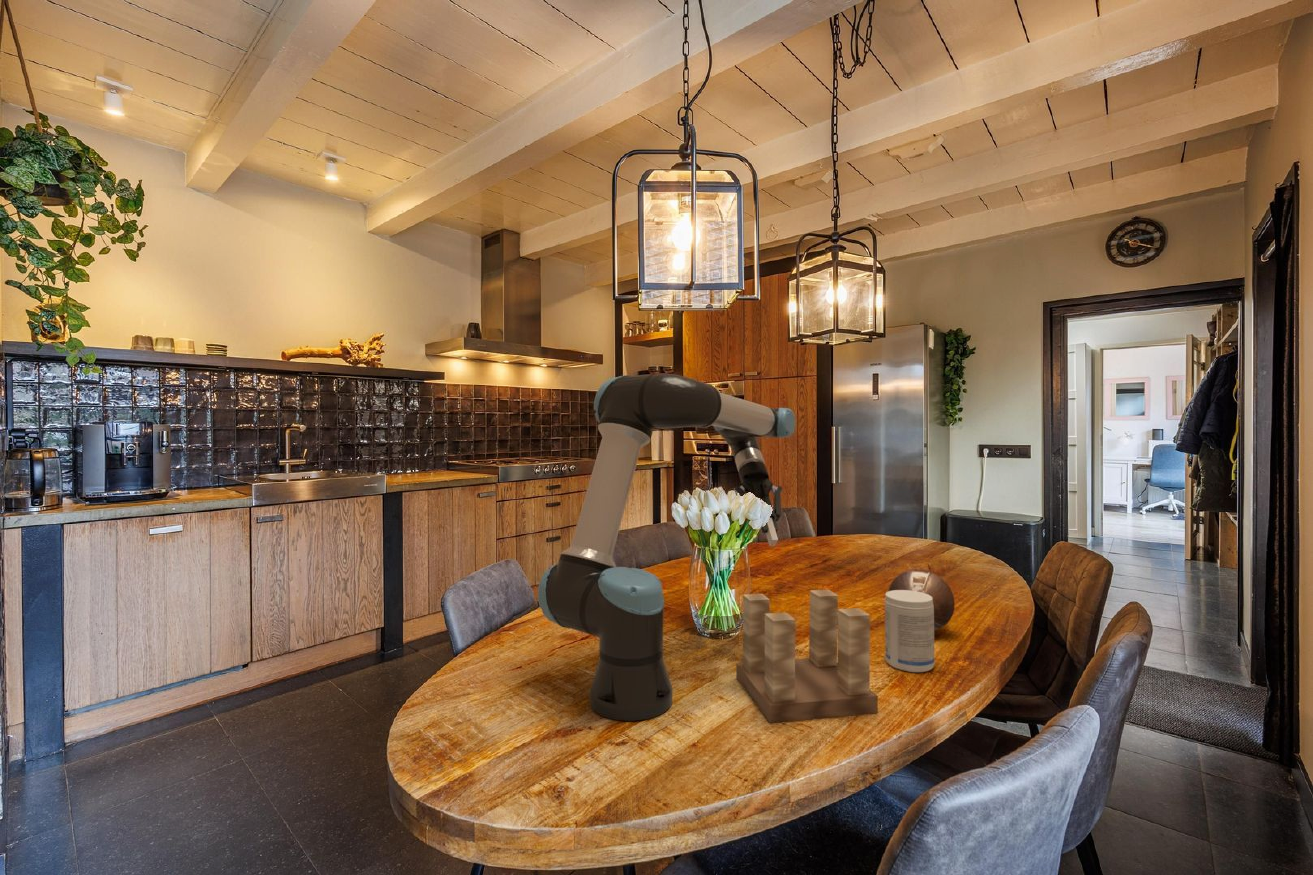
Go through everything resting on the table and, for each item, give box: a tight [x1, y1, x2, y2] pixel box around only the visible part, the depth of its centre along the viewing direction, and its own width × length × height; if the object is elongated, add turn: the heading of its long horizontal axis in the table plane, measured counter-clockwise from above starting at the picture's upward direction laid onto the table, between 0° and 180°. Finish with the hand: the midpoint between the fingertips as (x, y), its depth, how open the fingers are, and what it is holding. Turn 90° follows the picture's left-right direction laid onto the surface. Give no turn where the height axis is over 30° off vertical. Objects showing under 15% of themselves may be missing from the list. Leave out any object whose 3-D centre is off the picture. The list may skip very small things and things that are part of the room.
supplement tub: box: [884, 590, 935, 673], centre depth 123 cm, size 10×10×15 cm
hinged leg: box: [808, 589, 839, 667], centre depth 117 cm, size 4×4×14 cm
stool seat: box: [735, 593, 879, 724], centre depth 109 cm, size 20×18×17 cm
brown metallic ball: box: [887, 568, 956, 632], centre depth 144 cm, size 15×15×15 cm
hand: (773, 542), depth 142 cm, fingers closed
